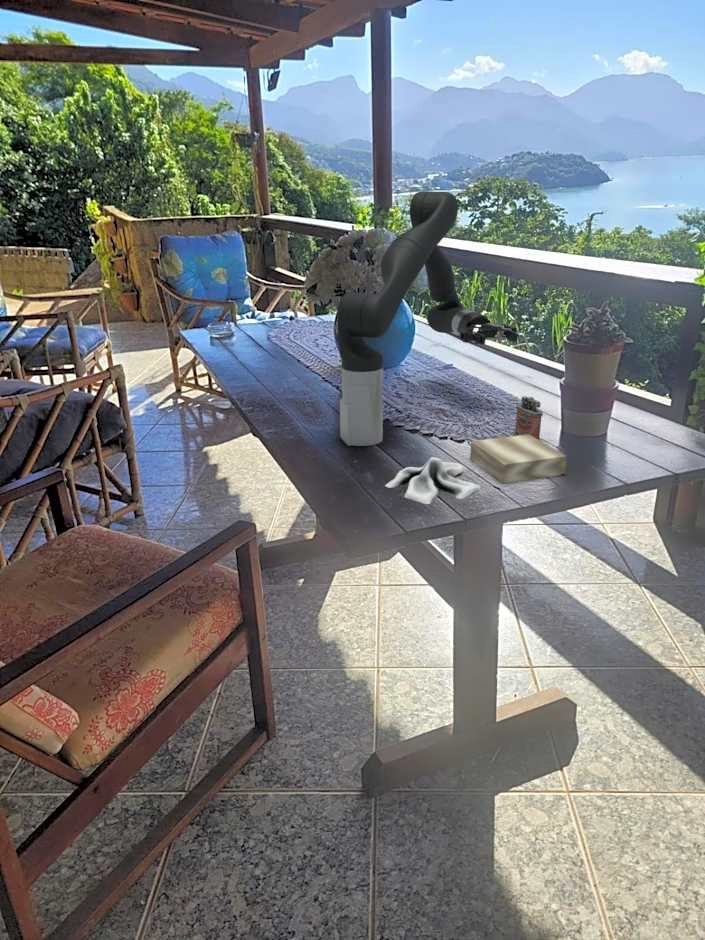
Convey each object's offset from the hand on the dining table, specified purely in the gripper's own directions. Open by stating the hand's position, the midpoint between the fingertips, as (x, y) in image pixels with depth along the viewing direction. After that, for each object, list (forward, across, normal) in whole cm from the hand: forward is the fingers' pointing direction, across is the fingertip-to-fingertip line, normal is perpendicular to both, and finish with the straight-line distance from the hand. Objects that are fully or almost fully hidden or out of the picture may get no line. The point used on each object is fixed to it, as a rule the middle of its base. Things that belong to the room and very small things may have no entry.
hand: (500, 339), depth 160 cm
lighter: (+16, 0, +20) cm, 26 cm away
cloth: (+33, -32, +20) cm, 50 cm away
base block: (+30, -11, +20) cm, 38 cm away
